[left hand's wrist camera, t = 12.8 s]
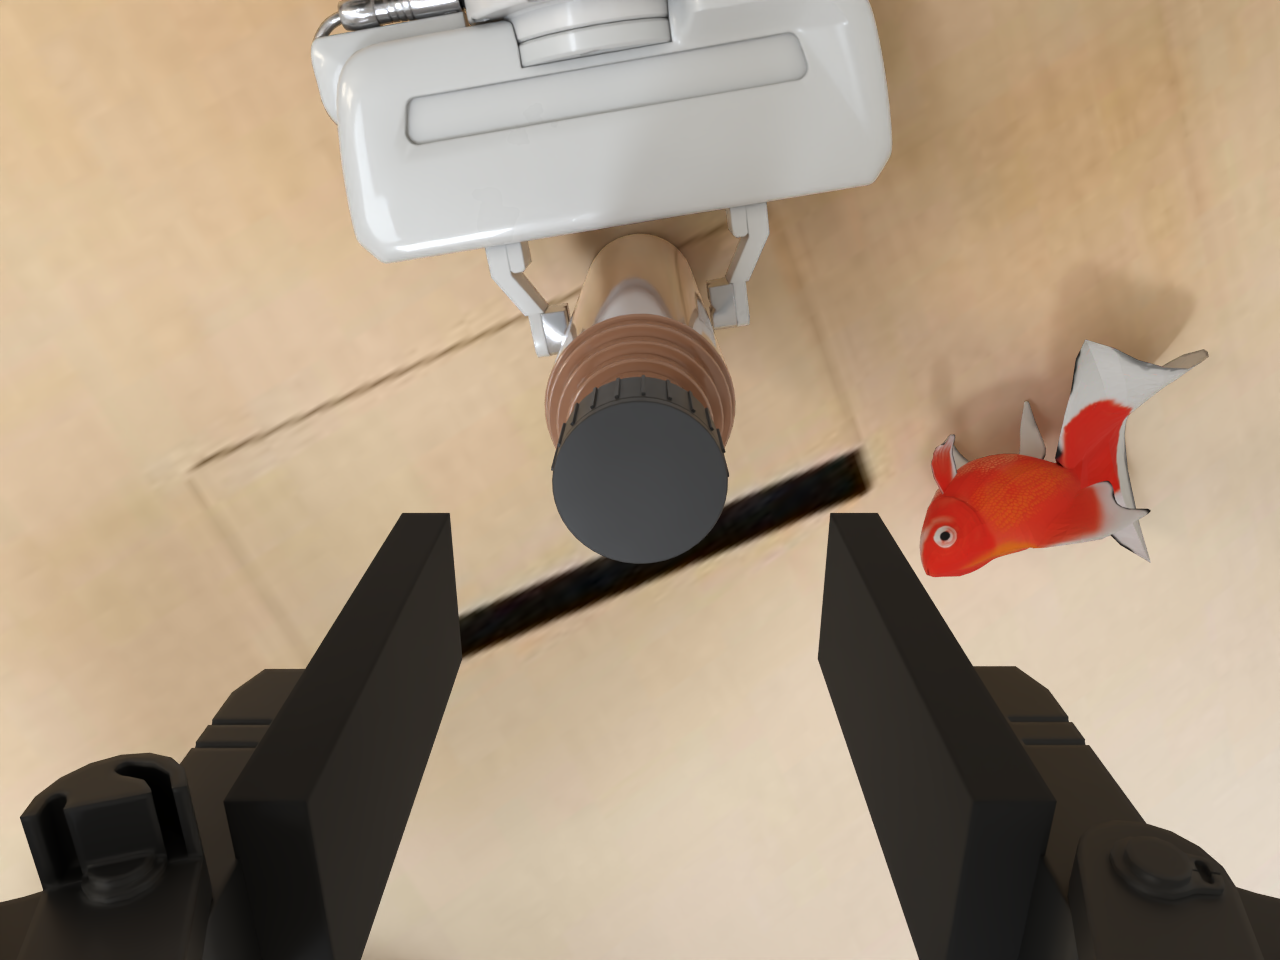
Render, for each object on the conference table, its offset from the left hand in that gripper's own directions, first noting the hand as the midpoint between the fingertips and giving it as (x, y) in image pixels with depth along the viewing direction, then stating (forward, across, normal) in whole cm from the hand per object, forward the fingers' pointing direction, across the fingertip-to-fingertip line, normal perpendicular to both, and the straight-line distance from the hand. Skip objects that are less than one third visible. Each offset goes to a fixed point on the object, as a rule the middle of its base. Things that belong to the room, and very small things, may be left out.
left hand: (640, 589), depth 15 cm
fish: (+30, +19, -7) cm, 36 cm away
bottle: (+30, 0, 0) cm, 30 cm away
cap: (+5, 0, 0) cm, 5 cm away
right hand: (+23, 0, -1) cm, 23 cm away
